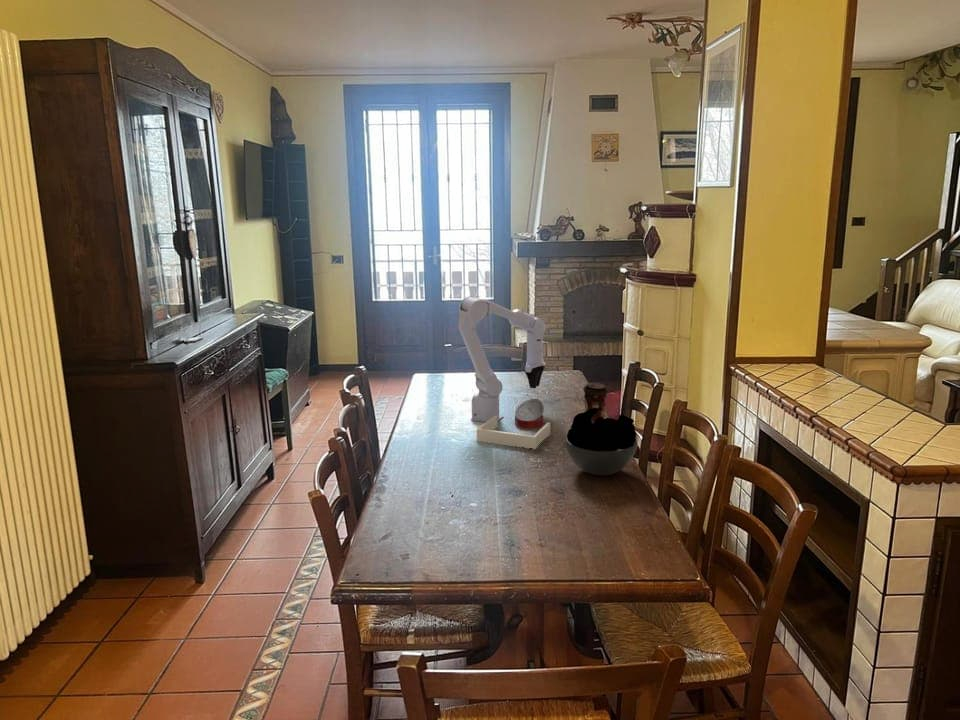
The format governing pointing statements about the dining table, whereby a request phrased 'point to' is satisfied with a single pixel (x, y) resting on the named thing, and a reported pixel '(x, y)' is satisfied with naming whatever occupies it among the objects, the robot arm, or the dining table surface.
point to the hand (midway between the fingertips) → (534, 386)
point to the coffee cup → (595, 399)
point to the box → (510, 435)
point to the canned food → (529, 414)
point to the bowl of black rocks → (601, 443)
